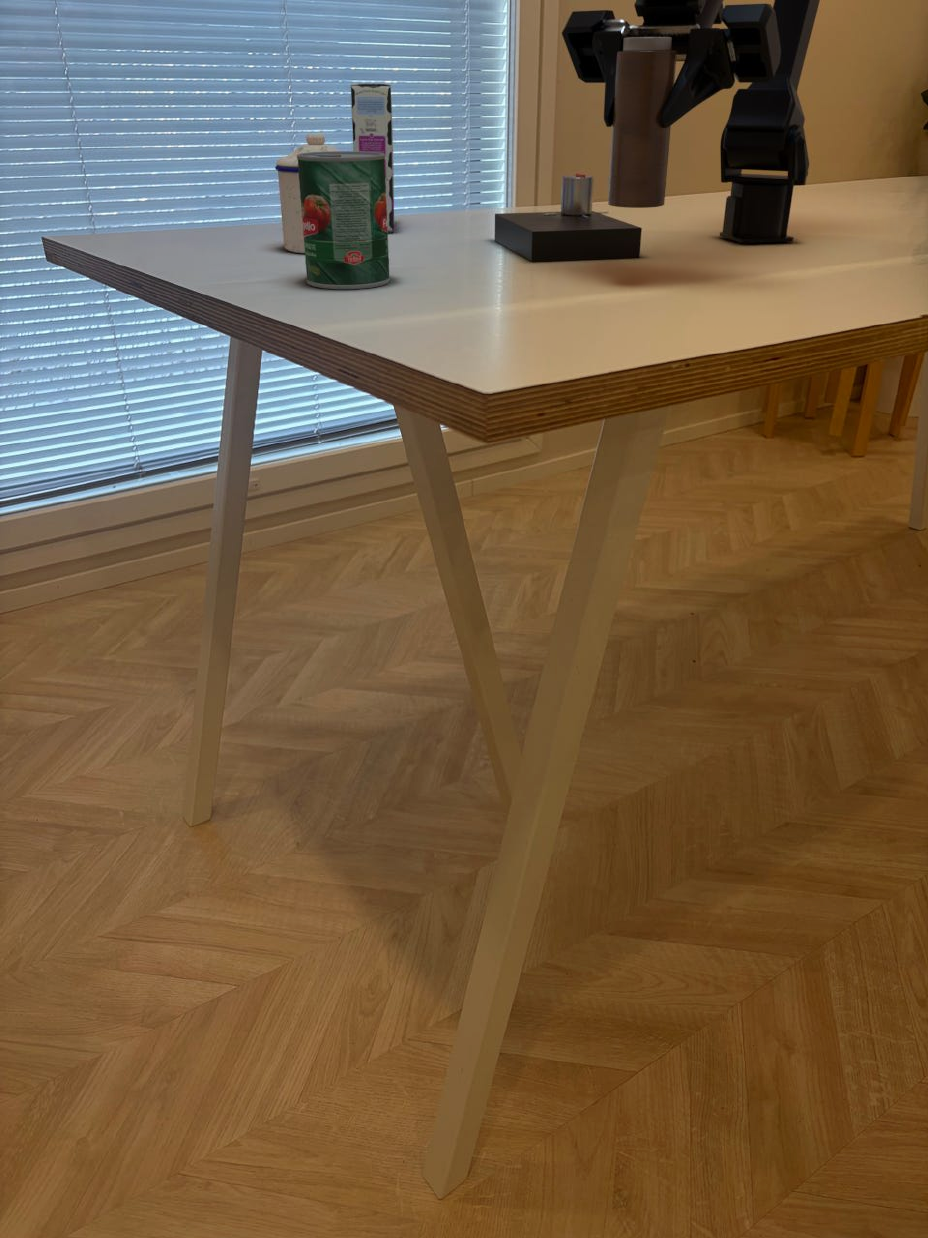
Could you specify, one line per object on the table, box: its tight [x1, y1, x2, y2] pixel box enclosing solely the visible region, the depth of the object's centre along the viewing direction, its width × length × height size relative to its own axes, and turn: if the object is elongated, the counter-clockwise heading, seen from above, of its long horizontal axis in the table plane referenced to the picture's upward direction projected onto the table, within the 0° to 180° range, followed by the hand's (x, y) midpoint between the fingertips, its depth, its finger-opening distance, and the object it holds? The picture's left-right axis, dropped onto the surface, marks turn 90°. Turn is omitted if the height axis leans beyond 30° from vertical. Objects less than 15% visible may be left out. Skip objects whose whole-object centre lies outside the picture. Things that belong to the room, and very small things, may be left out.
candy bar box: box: [349, 83, 395, 233], centre depth 124 cm, size 11×5×16 cm, turn 5°
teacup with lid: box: [274, 133, 340, 254], centre depth 111 cm, size 12×9×12 cm
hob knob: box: [560, 172, 595, 216], centre depth 114 cm, size 4×4×4 cm
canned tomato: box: [297, 150, 391, 290], centre depth 91 cm, size 8×8×11 cm
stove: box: [494, 210, 643, 263], centre depth 111 cm, size 13×17×3 cm
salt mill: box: [607, 37, 677, 209], centre depth 86 cm, size 5×5×13 cm
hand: (634, 123), depth 85 cm, fingers closed on salt mill, 5 cm apart
